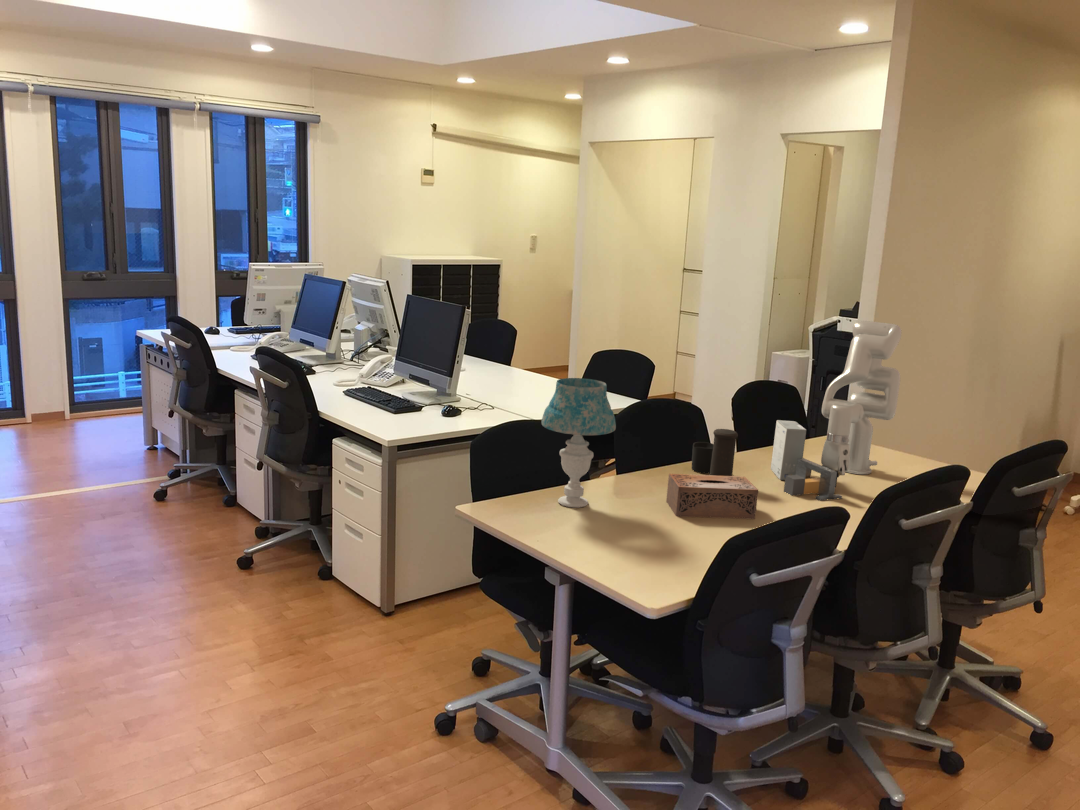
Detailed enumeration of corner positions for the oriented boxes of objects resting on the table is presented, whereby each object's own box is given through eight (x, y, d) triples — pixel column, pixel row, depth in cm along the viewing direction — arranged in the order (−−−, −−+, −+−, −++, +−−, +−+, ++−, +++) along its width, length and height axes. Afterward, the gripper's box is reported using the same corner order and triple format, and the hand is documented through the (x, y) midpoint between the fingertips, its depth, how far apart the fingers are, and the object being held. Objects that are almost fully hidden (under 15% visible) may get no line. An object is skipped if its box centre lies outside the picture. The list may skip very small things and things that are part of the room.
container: (734, 482, 313) (740, 429, 309) (729, 488, 305) (735, 434, 301) (711, 478, 317) (717, 425, 313) (705, 484, 309) (711, 430, 304)
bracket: (808, 483, 318) (811, 457, 316) (841, 498, 302) (845, 471, 299) (786, 485, 314) (789, 458, 312) (819, 500, 298) (822, 473, 296)
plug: (819, 488, 312) (821, 473, 311) (827, 492, 308) (830, 476, 306) (783, 491, 306) (785, 475, 304) (792, 495, 302) (794, 479, 300)
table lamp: (571, 487, 295) (579, 373, 287) (624, 506, 279) (634, 385, 270) (521, 500, 279) (528, 379, 270) (574, 520, 262) (583, 393, 254)
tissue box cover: (675, 516, 272) (678, 486, 270) (666, 502, 286) (668, 473, 284) (754, 519, 274) (758, 489, 272) (741, 505, 288) (744, 476, 286)
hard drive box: (800, 481, 319) (807, 430, 315) (779, 480, 319) (786, 428, 315) (789, 470, 334) (795, 420, 330) (769, 468, 334) (775, 419, 330)
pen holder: (719, 470, 328) (721, 445, 326) (709, 475, 320) (712, 449, 318) (696, 465, 333) (698, 440, 331) (686, 470, 325) (689, 445, 323)
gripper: (860, 443, 301) (853, 493, 305) (831, 432, 315) (825, 480, 319) (843, 444, 298) (836, 494, 302) (815, 433, 312) (809, 481, 316)
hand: (830, 487), depth 310 cm, fingers closed
